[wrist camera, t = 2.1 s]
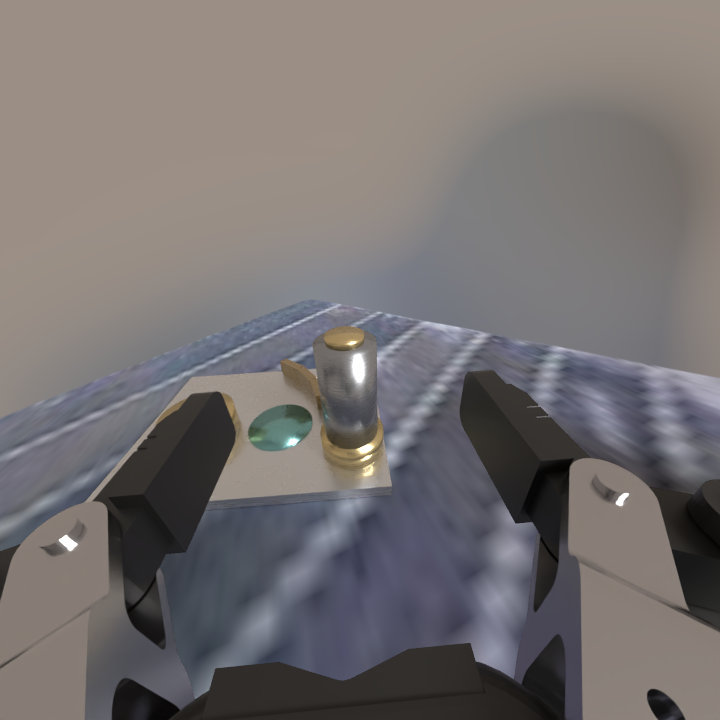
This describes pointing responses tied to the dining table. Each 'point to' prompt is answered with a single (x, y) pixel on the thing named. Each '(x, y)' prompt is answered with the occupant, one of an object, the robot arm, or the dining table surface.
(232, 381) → the carrier
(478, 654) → the dining table surface
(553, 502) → the robot arm
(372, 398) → the silver and brass cylinder
